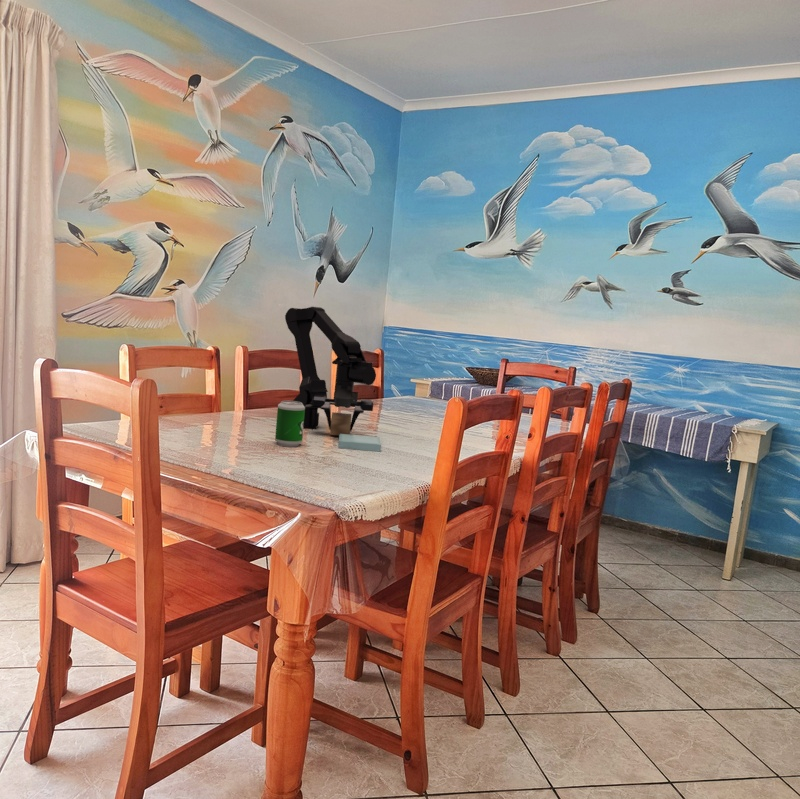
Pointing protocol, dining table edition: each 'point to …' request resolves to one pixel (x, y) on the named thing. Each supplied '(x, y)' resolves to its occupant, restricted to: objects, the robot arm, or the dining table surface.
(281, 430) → the soda can
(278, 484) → the dining table surface
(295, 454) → the dining table surface
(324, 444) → the dining table surface
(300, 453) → the dining table surface
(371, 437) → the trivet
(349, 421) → the walnut cube
